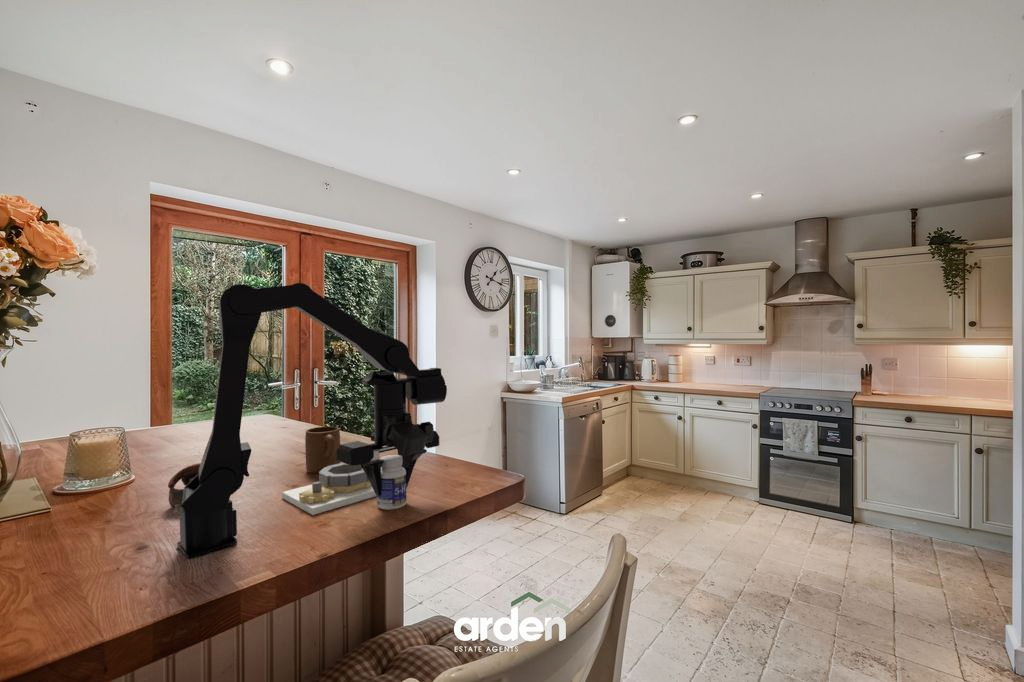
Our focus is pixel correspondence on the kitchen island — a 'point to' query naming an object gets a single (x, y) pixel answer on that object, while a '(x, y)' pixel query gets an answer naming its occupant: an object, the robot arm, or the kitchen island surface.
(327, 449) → the mug
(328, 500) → the gear board
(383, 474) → the pill bottle
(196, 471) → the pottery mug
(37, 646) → the kitchen island surface
